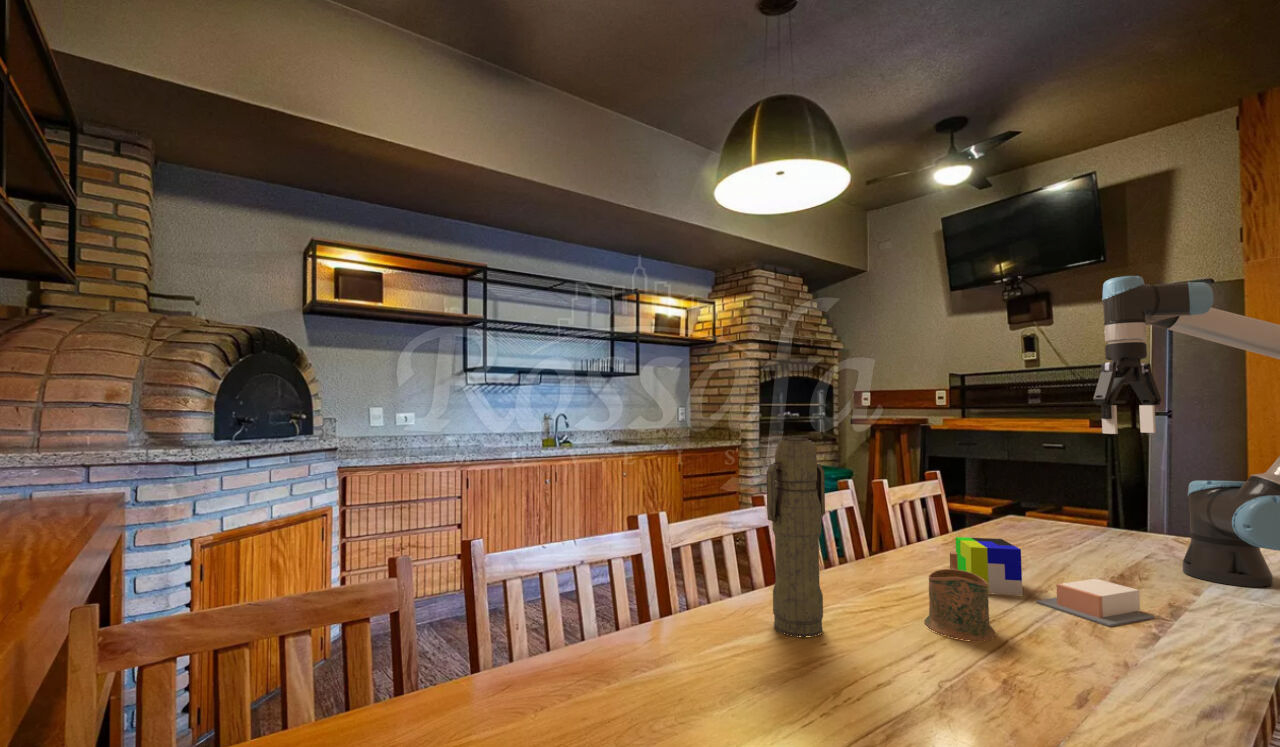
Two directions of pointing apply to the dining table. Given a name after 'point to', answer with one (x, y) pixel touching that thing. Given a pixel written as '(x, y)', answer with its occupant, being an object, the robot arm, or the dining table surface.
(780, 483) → the robed figure statue
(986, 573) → the puzzle toy
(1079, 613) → the mat
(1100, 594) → the tall block
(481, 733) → the dining table surface
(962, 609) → the brown hat
